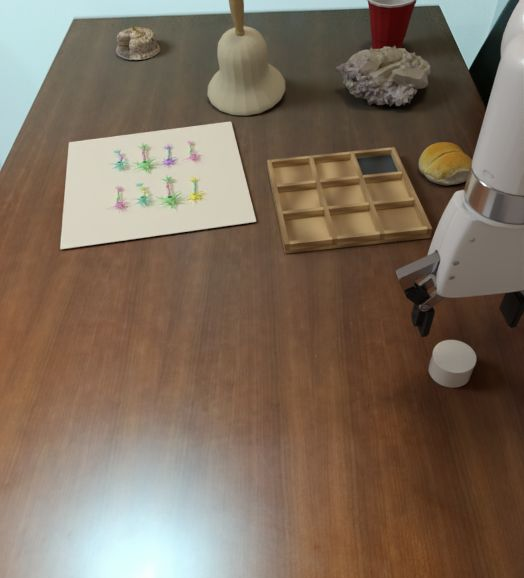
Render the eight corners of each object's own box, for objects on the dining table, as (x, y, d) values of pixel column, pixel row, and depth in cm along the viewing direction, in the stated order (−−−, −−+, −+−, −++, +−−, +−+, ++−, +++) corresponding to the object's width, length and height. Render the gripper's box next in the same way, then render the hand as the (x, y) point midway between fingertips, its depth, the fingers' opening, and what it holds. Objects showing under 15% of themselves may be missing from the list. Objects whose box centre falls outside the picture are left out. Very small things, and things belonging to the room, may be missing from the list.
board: (393, 156, 100) (394, 146, 98) (430, 238, 86) (432, 228, 85) (267, 169, 99) (267, 159, 97) (284, 253, 85) (284, 244, 84)
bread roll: (452, 151, 100) (457, 130, 97) (479, 180, 94) (485, 158, 91) (407, 161, 98) (411, 139, 95) (432, 191, 93) (437, 169, 90)
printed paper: (256, 223, 90) (256, 215, 89) (60, 251, 88) (57, 243, 87) (231, 123, 109) (230, 115, 108) (69, 143, 107) (67, 136, 105)
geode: (427, 125, 115) (384, 81, 121) (455, 80, 108) (409, 36, 114) (366, 121, 105) (324, 74, 112) (393, 72, 99) (346, 25, 105)
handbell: (291, 72, 117) (286, -64, 95) (280, 124, 110) (271, -10, 88) (217, 69, 119) (195, -65, 98) (201, 120, 112) (174, -11, 91)
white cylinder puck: (462, 352, 72) (468, 337, 70) (476, 385, 69) (482, 370, 67) (423, 357, 72) (427, 341, 70) (435, 390, 69) (440, 375, 67)
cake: (143, 39, 134) (141, 14, 130) (169, 53, 130) (167, 27, 126) (106, 50, 130) (102, 24, 126) (132, 65, 125) (128, 38, 121)
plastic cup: (350, 57, 123) (355, -6, 114) (374, 37, 129) (380, -24, 119) (397, 68, 119) (405, 5, 110) (420, 48, 125) (430, -15, 115)
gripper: (587, 156, 53) (527, 290, 66) (401, 173, 52) (377, 306, 65) (629, 206, 48) (555, 340, 61) (425, 225, 47) (394, 357, 61)
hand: (464, 322), depth 63 cm, fingers open, 9 cm apart
